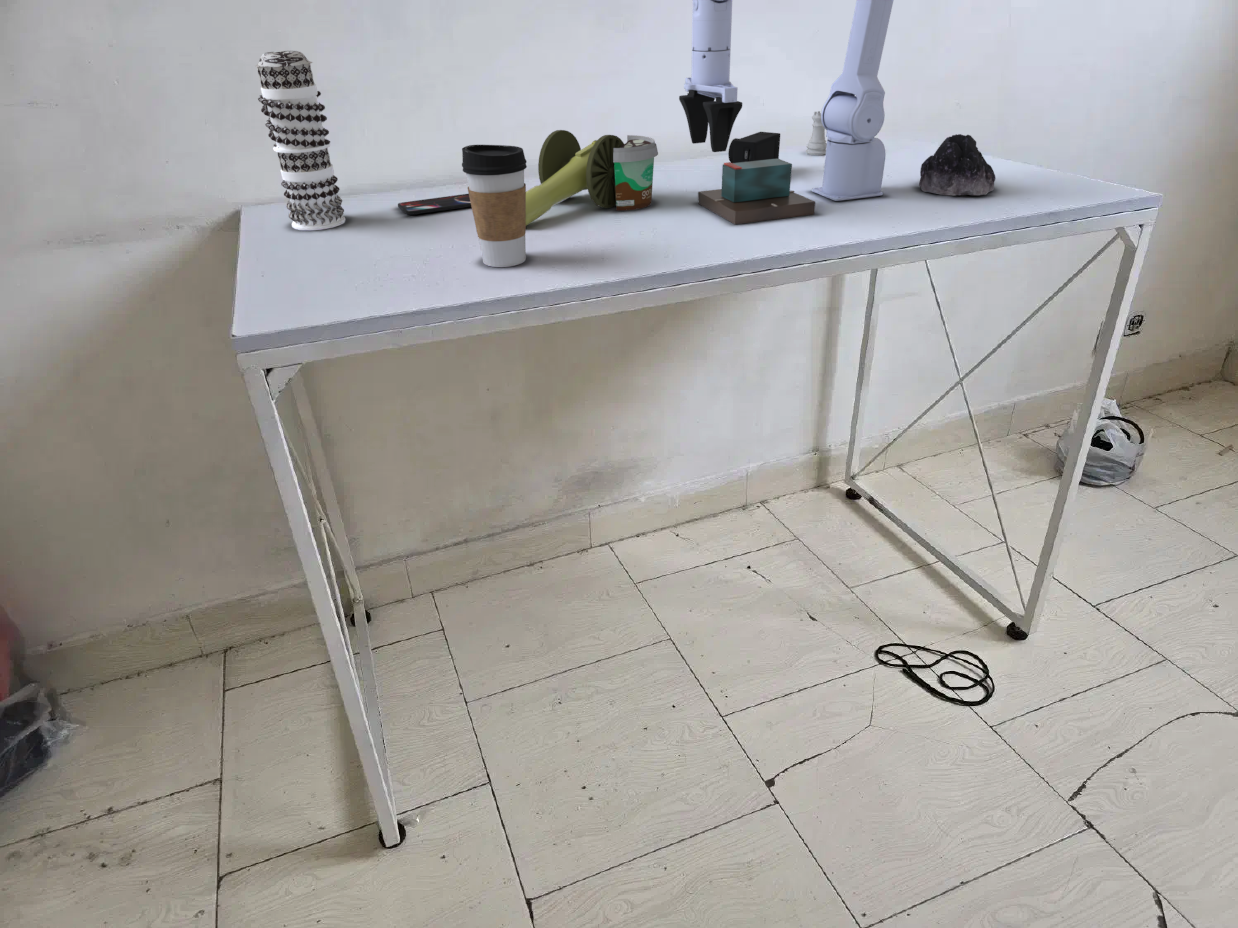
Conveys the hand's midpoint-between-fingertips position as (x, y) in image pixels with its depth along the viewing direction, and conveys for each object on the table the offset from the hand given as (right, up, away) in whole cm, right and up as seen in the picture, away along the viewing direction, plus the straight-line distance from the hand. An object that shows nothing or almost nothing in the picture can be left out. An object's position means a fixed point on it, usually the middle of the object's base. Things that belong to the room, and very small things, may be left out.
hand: (708, 147), depth 126 cm
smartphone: (-44, -5, +13) cm, 46 cm away
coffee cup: (-30, -21, -14) cm, 39 cm away
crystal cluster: (+44, -2, +14) cm, 46 cm away
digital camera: (+11, +5, +27) cm, 30 cm away
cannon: (-23, -8, +8) cm, 26 cm away
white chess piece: (+27, +15, +42) cm, 52 cm away
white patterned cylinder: (-63, -10, +6) cm, 64 cm away
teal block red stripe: (+8, -6, +5) cm, 11 cm away
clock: (+8, -8, +6) cm, 13 cm away
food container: (-10, -6, +11) cm, 16 cm away
